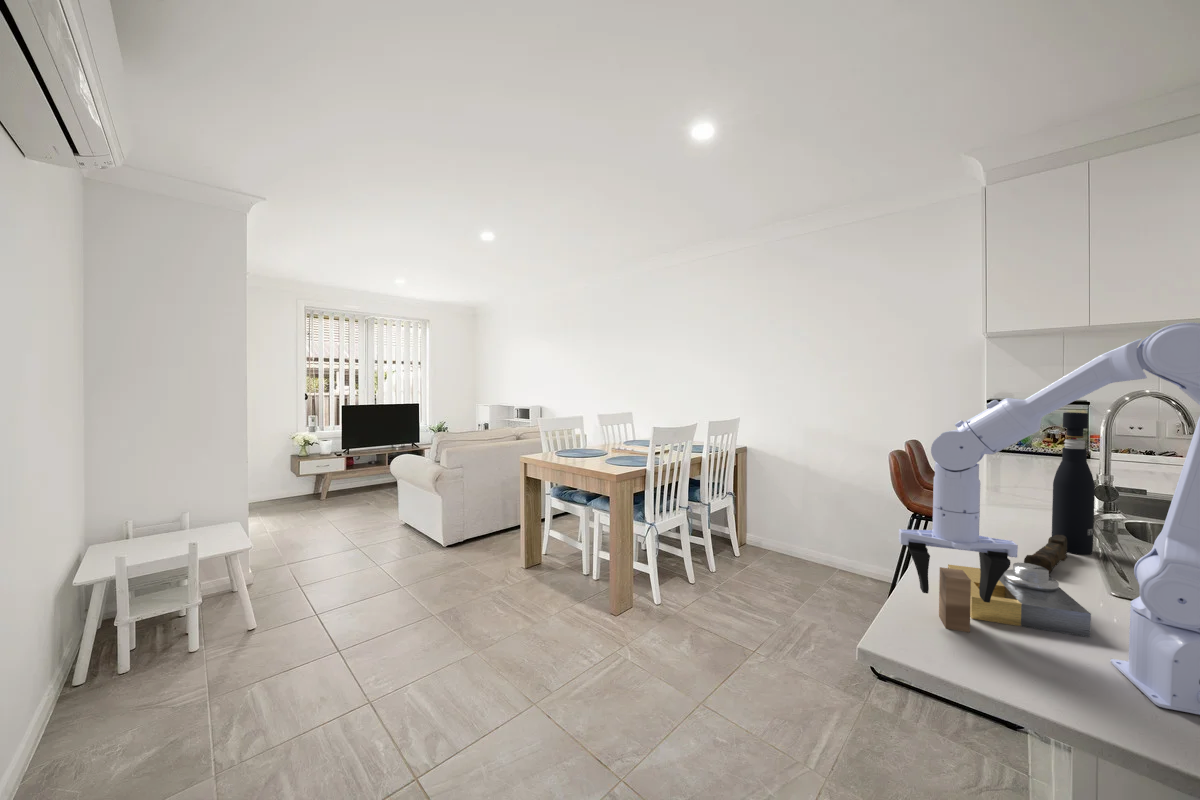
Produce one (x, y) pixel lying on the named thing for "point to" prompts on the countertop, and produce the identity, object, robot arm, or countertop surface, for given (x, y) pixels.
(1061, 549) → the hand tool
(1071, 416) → the wine bottle
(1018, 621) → the slotted base block
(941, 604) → the wedge
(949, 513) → the robot arm
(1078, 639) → the countertop surface
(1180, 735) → the countertop surface
